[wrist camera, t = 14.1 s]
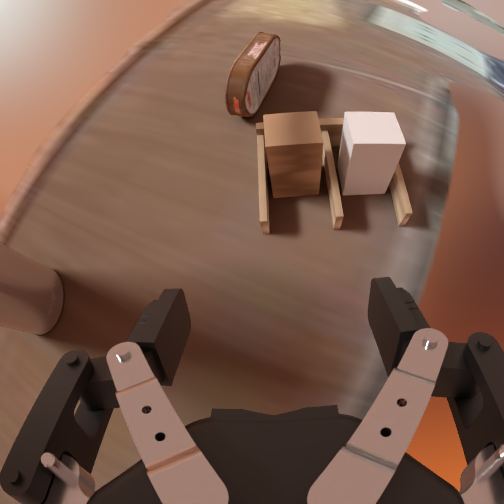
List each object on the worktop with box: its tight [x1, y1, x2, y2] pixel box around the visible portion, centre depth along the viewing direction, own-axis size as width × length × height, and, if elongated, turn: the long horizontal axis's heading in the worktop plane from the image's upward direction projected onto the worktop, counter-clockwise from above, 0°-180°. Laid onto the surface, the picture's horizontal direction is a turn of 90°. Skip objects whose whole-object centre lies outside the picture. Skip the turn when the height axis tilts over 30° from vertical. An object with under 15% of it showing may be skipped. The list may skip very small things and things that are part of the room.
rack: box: [256, 118, 413, 234], centre depth 32 cm, size 15×12×4 cm
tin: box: [225, 32, 281, 117], centre depth 36 cm, size 15×3×8 cm, turn 159°
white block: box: [337, 112, 406, 195], centre depth 29 cm, size 5×4×9 cm
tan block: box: [263, 111, 323, 198], centre depth 30 cm, size 5×4×9 cm
